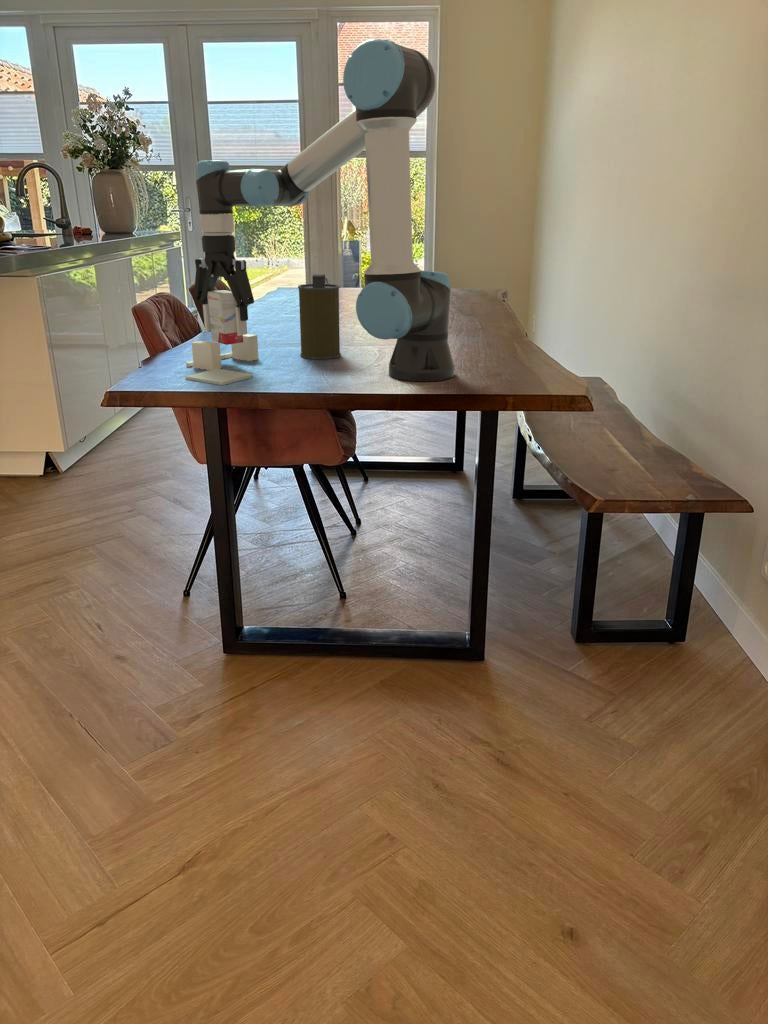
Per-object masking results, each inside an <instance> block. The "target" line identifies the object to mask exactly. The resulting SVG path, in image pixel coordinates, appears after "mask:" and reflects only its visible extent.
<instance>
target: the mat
mask: <svg viewBox="0 0 768 1024" xmlns="http://www.w3.org/2000/svg"><path fill="white" fill-rule="evenodd" d="M253 375H254V374H252V373H246V372H241V371H235V370H227V369H213V370H205V371H202V372H197V373H194V374H190V375H185V380H189V381H196V382H201V383H206V384H212V385H219V386H226V385H228V384H232V383H236V382H240V381H243V380H246V379H250V378H253Z"/></svg>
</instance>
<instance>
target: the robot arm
mask: <svg viewBox="0 0 768 1024" xmlns="http://www.w3.org/2000/svg"><path fill="white" fill-rule="evenodd" d="M434 71H435V70H434V67H433V65H432V64H431V62H430V61H429V59H428V58H427V57H426V56H425V55H424V54H423V53H421V52H420V51H418V50H416V49H413V48H409V47H406V46H403V45H400V44H398V43H395V42H394V41H393V40H390V39H379V38H371V39H370V38H369V39H367V40H365V41H363V42H361V43H359V44H358V45H357V46H356V47H355V48H354V49H353V51H352V53H351V54H350V55H349V57H348V58H347V60H346V63H345V66H344V69H343V76H342V81H343V90H344V93H345V95H346V97H347V99H348V100H349V101H350V102H351V104H352V105H353V106H354V107H355V108H354V109H353V110H352V111H350V112H349V113H348V114H346V116H344V117H343V118H342V119H341V120H339V121H338V122H337V123H336V124H334V125H333V126H332V127H331V128H330V129H328V130H327V131H326V132H324V133H323V134H322V135H321V136H319V137H318V138H317V139H316V140H315V141H313V142H312V143H311V144H310V145H308V146H307V147H306V148H305V149H303V150H302V151H301V152H299V153H298V154H297V155H296V156H295V157H294V158H291V160H290V161H289V162H287V163H286V164H285V165H282V167H281V168H279V169H278V170H272V169H271V170H270V169H267V168H257V167H255V168H247V169H245V168H244V169H231V167H230V164H229V162H228V161H227V160H222V159H221V160H219V159H217V160H215V159H214V160H213V159H212V160H208V159H207V160H199V161H198V162H197V163H196V165H195V184H196V189H197V190H196V191H197V192H196V193H197V199H198V209H199V211H198V212H199V225H200V232H201V233H202V234H203V235H202V237H201V245H202V246H201V247H202V252H203V253H204V254H205V257H202V258H196V259H194V263H195V280H194V289H193V300H194V301H196V302H198V303H199V304H200V306H201V316H202V318H203V320H204V321H203V322H204V332H205V333H211V327H210V317H209V307H208V298H207V294H208V291H215V287H216V283H217V282H218V281H217V280H218V279H219V278H220V277H221V278H223V280H224V281H226V283H227V285H228V287H229V289H230V291H231V292H232V294H233V296H234V298H235V300H236V302H237V304H238V305H237V306H236V307H235V311H236V324H237V335H238V336H241V335H246V334H248V325H247V324H248V323H247V321H249V312H248V311H249V310H248V307H249V305H252V304H254V303H255V299H254V295H253V292H252V287H251V284H250V280H249V276H248V272H247V261H246V259H240V260H239V259H236V256H235V252H236V248H237V247H236V237H235V236H234V234H232V233H234V232H235V225H234V222H235V221H234V214H233V213H234V207H255V208H263V207H288V208H289V207H290V208H291V207H294V206H299V205H302V204H303V203H305V202H306V201H307V198H308V196H309V193H310V191H311V190H313V189H314V188H315V187H317V186H318V185H319V184H320V183H322V182H323V181H324V180H326V179H327V178H328V177H330V176H331V175H333V174H334V173H335V172H337V171H338V170H339V169H341V168H342V167H343V166H345V165H346V164H348V163H349V162H350V161H351V160H353V159H354V158H355V157H357V156H358V155H360V154H361V153H362V152H363V151H365V163H366V183H367V184H366V185H367V204H368V205H367V206H368V207H367V209H368V226H369V227H368V228H369V248H370V251H369V252H370V264H369V265H368V267H367V268H366V269H365V270H364V272H363V274H364V287H362V288H361V291H360V292H359V293H358V295H357V297H356V302H355V314H356V317H357V320H358V321H359V324H360V325H361V327H362V328H363V329H364V330H365V331H366V332H367V333H368V334H369V335H370V336H372V337H374V338H375V339H378V340H383V341H384V340H385V341H386V340H396V342H395V345H394V348H393V351H392V354H391V357H390V361H389V364H388V375H389V376H390V378H391V377H392V378H394V379H397V380H402V381H409V382H410V381H411V382H412V381H413V382H436V381H437V382H439V381H444V380H448V379H451V378H453V377H454V376H455V364H454V359H453V356H452V353H451V349H450V345H449V323H450V322H449V321H450V319H449V317H450V304H451V303H450V300H451V299H450V297H451V292H452V289H451V283H450V282H451V279H450V276H449V274H447V272H442V271H430V270H421V268H420V267H419V266H417V265H416V263H415V262H414V260H413V259H414V257H413V226H412V224H413V223H412V194H411V191H412V188H411V186H412V185H411V158H410V156H411V155H410V154H411V153H410V151H411V150H410V131H411V129H412V128H413V126H414V125H415V124H416V123H417V118H418V117H419V116H420V115H421V114H422V113H424V111H425V110H426V109H427V108H428V107H429V105H430V104H431V102H432V99H433V97H434V94H435V91H436V75H435V72H434Z"/></svg>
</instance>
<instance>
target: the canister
mask: <svg viewBox="0 0 768 1024" xmlns="http://www.w3.org/2000/svg"><path fill="white" fill-rule="evenodd" d="M311 279H312V283H306V284H299V285H298V286H297V288H298V297H299V299H298V301H299V305H298V306H299V328H300V330H299V331H300V354H299V355H300V357H301V358H304V359H307V360H308V359H309V360H330V359H331V360H332V359H337V358H339V357H341V355H342V353H341V352H340V351H341V350H340V347H341V345H340V294H339V293H340V288H341V286H340V285H339V284H334V283H329V281H328V278H327V277H326V274H321V273H319V274H317V273H315V274H312V278H311Z"/></svg>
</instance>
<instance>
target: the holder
mask: <svg viewBox="0 0 768 1024" xmlns="http://www.w3.org/2000/svg"><path fill="white" fill-rule="evenodd" d="M258 341H259V340H258V334H251V333H247V334H246V335H243V342H242V343H236V344H230V345H231V351H230V352H226V353H221V343H218V342H215V341H205V340H198V341H193V342H191V348H192V349H191V350H192V360H191V361H188V362H187V361H186V362H185V363H186V368H191V367H190V366H192V367H193V368H194V369H198V368H200V370H204V369H206V370H205V371H209V370H213V369H221V368H222V360H225V359H228V357H229V358H231V359H232V358H234V359H233V360H239V359H240V360H239V361H245V360H246V361H247V362H254V361H257V360H258V361H259V343H258ZM224 358H225V359H224ZM253 360H254V361H253Z"/></svg>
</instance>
